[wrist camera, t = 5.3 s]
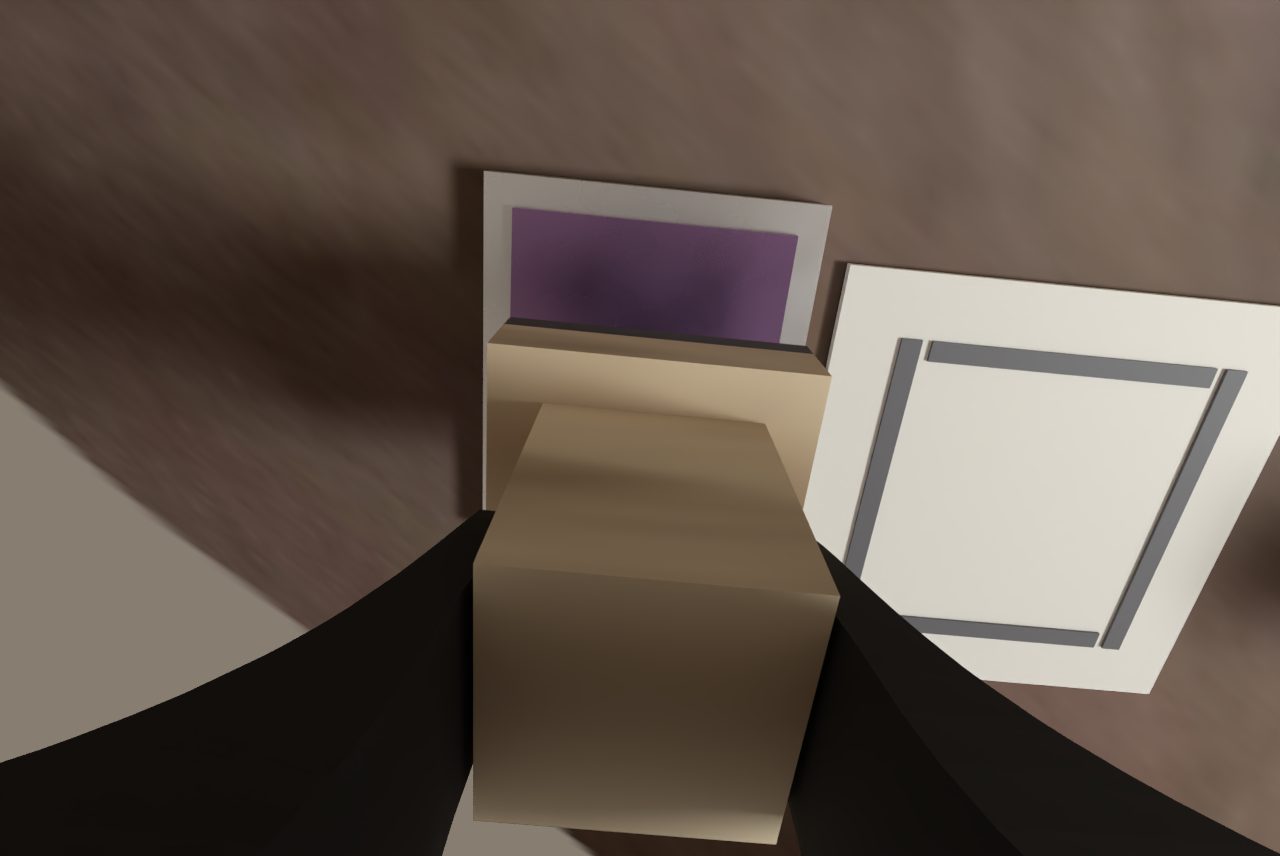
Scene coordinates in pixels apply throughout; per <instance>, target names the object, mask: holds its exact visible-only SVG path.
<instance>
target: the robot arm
mask: <svg viewBox="0 0 1280 856" xmlns="http://www.w3.org/2000/svg"><path fill="white" fill-rule="evenodd" d="M495 512H496V511H491V510H479V511H478V512H476V513H475V514H474V515H473V516H471V517H470V518H469V519H467V520H466V521H465V522H463V523H462V524H461V525H460V526H458V527H457V528H456V529H455V530H454V531H452V532H451V533H450V534H449V535H447V536H446V537H445V538H444V539H442V540H441V541H440V542H439V543H437V544H436V545H435V546H434V547H432V548H431V549H430V550H429V551H427V552H426V553H425V554H423V555H422V556H421V557H419V558H418V559H417V560H415V561H414V562H413V563H412V564H410V565H409V566H408V567H406V568H405V569H404V570H402V571H401V572H400V573H398V574H397V575H396V576H394V577H393V578H391V579H390V580H388V581H387V582H385V583H384V584H382V585H381V586H380V587H378V588H377V589H375V590H374V591H372V592H371V593H369V594H368V595H366V596H365V597H363V598H362V599H360V600H359V601H358V602H356V603H355V604H353V605H352V606H350V607H349V608H347V609H346V610H344V611H342V612H341V613H339V614H337V615H336V616H334V617H333V618H331V619H329V620H328V621H326V622H324V623H323V624H321V625H319V626H317V627H316V628H314V629H312V630H310V631H309V632H307V633H305V634H303V635H301V636H300V637H298V638H296V639H294V640H292V641H291V642H289V643H287V644H285V645H283V646H282V647H280V648H278V649H276V650H274V651H272V652H270V653H268V654H266V655H264V656H262V657H260V658H258V659H256V660H254V661H252V662H250V663H248V664H245V665H243V666H241V667H239V668H237V669H235V670H233V671H231V672H229V673H226V674H224V675H222V676H220V677H218V678H216V679H214V680H212V681H210V682H207V683H205V684H203V685H201V686H199V687H197V688H195V689H193V690H191V691H188V692H186V693H184V694H182V695H180V696H177V697H175V698H172V699H170V700H168V701H165V702H163V703H160V704H158V705H155V706H153V707H151V708H148V709H146V710H143V711H141V712H139V713H136V714H134V715H131V716H129V717H126V718H123V719H121V720H118V721H116V722H113V723H110V724H108V725H105V726H103V727H100V728H97V729H95V730H92V731H90V732H87V733H84V734H82V735H79V736H77V737H74V738H71V739H68V740H66V741H63V742H60V743H57V744H55V745H52V746H49V747H46V748H44V749H41V750H38V751H35V752H32V753H29V754H26V755H23V756H20V757H16V758H13V759H10V760H7V761H4V762H2V763H0V856H442V854H443V850H444V847H445V844H446V841H447V837H448V834H449V831H450V828H451V824H452V821H453V818H454V815H455V812H456V809H457V807H458V804H459V801H460V798H461V795H462V793H463V790H464V787H465V784H466V781H467V779H468V776H469V773H470V770H471V767H472V765H473V563H474V560H475V558H476V556H477V553H478V551H479V549H480V546H481V544H482V542H483V540H484V537H485V535H486V533H487V530H488V528H489V526H490V523H491V521H492V519H493V517H494V514H495ZM817 544H818V546H819V548H820V551H821V553H822V555H823V557H824V560H825V562H826V564H827V567H828V569H829V571H830V574H831V576H832V578H833V580H834V583H835V585H836V587H837V590H838V592H839V594H840V599H839V603H838V607H837V611H836V615H835V618H834V622H833V626H832V630H831V634H830V638H829V642H828V646H827V649H826V653H825V657H824V661H823V665H822V669H821V673H820V677H819V680H818V684H817V688H816V692H815V696H814V700H813V704H812V708H811V711H810V715H809V719H808V723H807V727H806V731H805V735H804V739H803V742H802V746H801V750H800V754H799V758H798V762H797V766H796V770H795V773H794V777H793V781H792V785H791V789H790V793H789V797H788V802H789V806H790V810H791V814H792V818H793V822H794V826H795V830H796V833H797V837H798V841H799V846H800V850H801V855H802V856H1280V853H1277V852H1275V851H1273V850H1271V849H1269V848H1267V847H1265V846H1263V845H1261V844H1259V843H1257V842H1255V841H1253V840H1251V839H1249V838H1247V837H1245V836H1243V835H1241V834H1239V833H1237V832H1235V831H1233V830H1231V829H1229V828H1227V827H1225V826H1223V825H1221V824H1220V823H1218V822H1216V821H1214V820H1212V819H1210V818H1208V817H1206V816H1204V815H1202V814H1200V813H1198V812H1196V811H1194V810H1192V809H1191V808H1189V807H1187V806H1185V805H1183V804H1181V803H1179V802H1177V801H1175V800H1173V799H1172V798H1170V797H1168V796H1166V795H1164V794H1162V793H1161V792H1159V791H1157V790H1155V789H1153V788H1152V787H1150V786H1148V785H1146V784H1144V783H1143V782H1141V781H1139V780H1137V779H1135V778H1134V777H1132V776H1130V775H1128V774H1126V773H1125V772H1123V771H1121V770H1120V769H1118V768H1116V767H1115V766H1113V765H1111V764H1110V763H1108V762H1106V761H1105V760H1103V759H1101V758H1100V757H1098V756H1096V755H1095V754H1093V753H1091V752H1090V751H1088V750H1086V749H1085V748H1083V747H1081V746H1079V745H1078V744H1076V743H1074V742H1073V741H1071V740H1069V739H1068V738H1066V737H1065V736H1063V735H1061V734H1060V733H1058V732H1057V731H1055V730H1054V729H1052V728H1050V727H1049V726H1047V725H1046V724H1044V723H1043V722H1041V721H1040V720H1038V719H1036V718H1035V717H1033V716H1032V715H1031V714H1029V713H1028V712H1026V711H1025V710H1023V709H1022V708H1020V707H1019V706H1017V705H1016V704H1015V703H1013V702H1012V701H1010V700H1009V699H1007V698H1006V697H1004V696H1003V695H1002V694H1000V693H999V692H997V691H996V690H994V689H993V688H991V687H990V686H988V685H987V684H986V683H984V682H983V681H982V680H980V679H979V678H978V677H976V676H975V675H973V674H972V673H971V672H969V671H968V670H967V669H965V668H964V667H963V666H962V665H960V664H959V663H958V662H956V661H955V660H954V659H953V658H951V657H950V656H949V655H948V654H946V653H945V652H944V651H943V650H941V649H940V648H939V647H938V646H936V645H935V644H934V643H933V642H931V641H930V640H929V639H928V638H926V637H925V636H924V635H923V634H922V633H920V632H919V631H918V630H917V629H916V628H914V627H913V626H912V625H911V624H910V623H909V622H907V621H906V620H905V619H904V618H903V617H902V616H900V615H899V614H898V613H897V612H896V611H895V610H894V609H892V608H891V607H890V606H889V605H888V604H887V603H886V602H885V601H883V600H882V599H881V598H880V597H879V596H878V595H877V594H876V593H875V592H873V591H872V590H871V589H870V588H869V587H868V586H867V585H866V584H865V583H864V582H863V581H861V580H860V579H859V578H858V577H857V576H856V575H855V574H854V573H853V572H852V571H851V570H850V569H848V568H847V567H846V566H845V565H844V564H843V563H842V562H841V561H840V560H839V559H838V558H836V557H835V556H834V555H833V554H832V553H831V552H830V551H829V550H827V549H826V548H825V547H824V546H823V545H822V544H820V543H819V542H818V541H817Z"/></svg>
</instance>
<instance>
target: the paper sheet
mask: <svg viewBox="0 0 1280 856" xmlns="http://www.w3.org/2000/svg"><path fill="white" fill-rule="evenodd" d="M825 369H826V370H827V371H828V372H829V373H830V375H831V376H832V379H831V383H830V388H829V393H828V397H827V402H826V406H825V411H824V416H823V420H822V425H821V429H820V434H819V438H818V443H817V448H816V452H815V457H814V461H813V466H812V470H811V475H810V480H809V484H808V489H807V493H806V498H805V502H804V507H803V511H804V514H805V516H806V518H807V521H808V523H809V525H810V528H811V530H812V532H813V534H814V537H815V539H816V541H818V542H819V543H820V544H822V545H823V546H824V547H825V548H826V549H827V550H829V551H830V552H831V553H832V554H833V555H834V556H835V557H836V558H838V559H839V560H840V561H841V562H842V563H843V564H844V565H845V566H846V567H847V568H848V569H850V570H851V571H852V572H853V573H854V574H855V575H856V576H857V577H858V578H859V579H860V580H861V581H863V582H864V583H865V584H866V585H867V586H868V587H869V588H870V589H871V590H872V591H873V592H875V593H876V594H877V595H878V596H879V597H880V598H881V599H882V600H883V601H885V602H886V603H887V604H888V605H889V606H890V607H891V608H892V609H894V610H895V611H896V612H897V613H898V614H899V615H900V616H902V617H903V618H904V619H905V620H906V621H907V622H909V623H910V624H911V625H912V626H913V627H914V628H916V629H917V630H918V631H919V632H920V633H922V634H923V635H924V636H925V637H926V638H928V639H929V640H930V641H931V642H933V643H934V644H935V645H936V646H938V647H939V648H940V649H941V650H943V651H944V652H945V653H946V654H948V655H949V656H950V657H951V658H953V659H954V660H955V661H956V662H958V663H959V664H960V665H962V666H963V667H964V668H965V669H967V670H968V671H969V672H971V673H972V674H973V675H975V676H976V677H978V678H979V679H980V680H990V681H1002V682H1013V683H1025V684H1037V685H1049V686H1061V687H1073V688H1085V689H1097V690H1108V691H1120V692H1132V693H1144V694H1149V693H1150V691H1151V689H1152V687H1153V685H1154V683H1155V681H1156V679H1157V677H1158V675H1159V673H1160V671H1161V669H1162V667H1163V665H1164V663H1165V661H1166V659H1167V657H1168V655H1169V653H1170V651H1171V649H1172V647H1173V645H1174V643H1175V641H1176V639H1177V637H1178V635H1179V633H1180V631H1181V629H1182V627H1183V625H1184V623H1185V621H1186V619H1187V617H1188V616H1189V614H1190V612H1191V610H1192V608H1193V606H1194V604H1195V602H1196V600H1197V598H1198V596H1199V594H1200V592H1201V590H1202V588H1203V586H1204V584H1205V582H1206V580H1207V578H1208V576H1209V574H1210V572H1211V570H1212V568H1213V566H1214V564H1215V562H1216V560H1217V558H1218V556H1219V554H1220V552H1221V550H1222V548H1223V546H1224V544H1225V542H1226V540H1227V538H1228V536H1229V534H1230V532H1231V530H1232V528H1233V526H1234V524H1235V522H1236V520H1237V518H1238V516H1239V514H1240V512H1241V510H1242V508H1243V506H1244V504H1245V502H1246V500H1247V498H1248V496H1249V494H1250V492H1251V490H1252V489H1253V487H1254V485H1255V483H1256V481H1257V479H1258V477H1259V475H1260V473H1261V471H1262V469H1263V467H1264V465H1265V463H1266V461H1267V459H1268V457H1269V455H1270V453H1271V451H1272V449H1273V447H1274V445H1275V443H1276V441H1277V439H1278V437H1279V435H1280V306H1279V305H1269V304H1258V303H1248V302H1238V301H1228V300H1218V299H1208V298H1198V297H1187V296H1177V295H1167V294H1157V293H1147V292H1137V291H1127V290H1116V289H1106V288H1096V287H1086V286H1076V285H1066V284H1055V283H1045V282H1035V281H1025V280H1015V279H1005V278H995V277H984V276H974V275H964V274H954V273H944V272H934V271H924V270H913V269H903V268H893V267H883V266H873V265H863V264H852V263H847V268H846V273H845V278H844V282H843V287H842V292H841V297H840V301H839V306H838V311H837V316H836V320H835V325H834V330H833V335H832V340H831V344H830V349H829V354H828V359H827V363H826V368H825Z"/></svg>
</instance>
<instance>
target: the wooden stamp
mask: <svg viewBox="0 0 1280 856" xmlns="http://www.w3.org/2000/svg"><path fill="white" fill-rule="evenodd" d="M831 379H832V376H831V375H830V373H829V372H828V371H827V370H826V369H825V367H824V366H823V365H822V364H821V363H820V361H819V360H818V359H817V358H816V357H815V355H814V354H813V353H812V352H811V351H810V349H809V348H808V347H807V346H803V345H792V344H782V343H772V342H762V341H752V340H741V339H731V338H721V337H711V336H701V335H690V334H680V333H670V332H660V331H650V330H639V329H629V328H619V327H609V326H598V325H588V324H578V323H568V322H558V321H547V320H537V319H527V318H517V317H510V318H509V319H508V320H507V321H506V322H505V323H504V324H503V325H502V327H501V328H500V329H499V330H498V331H497V332H496V333H495V335H494V336H493V337H492V338H491V339H490V340H489V341H488V343H487V435H486V510H491V511H496V512H495V514H494V517H493V519H492V521H491V523H490V526H489V528H488V530H487V533H486V535H485V537H484V540H483V542H482V544H481V546H480V549H479V551H478V553H477V556H476V558H475V560H474V563H473V797H474V798H473V806H474V807H473V820H474V821H485V822H498V823H510V824H523V825H536V826H548V827H561V828H573V829H586V830H599V831H611V832H624V833H636V834H649V835H662V836H674V837H687V838H699V839H712V840H725V841H737V842H750V843H762V844H775V845H776V843H777V839H778V835H779V831H780V828H781V824H782V820H783V816H784V812H785V808H786V804H787V800H788V797H789V793H790V789H791V785H792V781H793V777H794V773H795V770H796V766H797V762H798V758H799V754H800V750H801V746H802V742H803V739H804V735H805V731H806V727H807V723H808V719H809V715H810V711H811V708H812V704H813V700H814V696H815V692H816V688H817V684H818V680H819V677H820V673H821V669H822V665H823V661H824V657H825V653H826V649H827V646H828V642H829V638H830V634H831V630H832V626H833V622H834V618H835V615H836V611H837V607H838V603H839V599H840V594H839V592H838V590H837V587H836V585H835V583H834V580H833V578H832V576H831V574H830V571H829V569H828V567H827V564H826V562H825V560H824V557H823V555H822V553H821V551H820V548H819V546H818V544H817V541H816V539H815V537H814V534H813V532H812V530H811V528H810V525H809V523H808V521H807V518H806V516H805V514H804V511H803V507H804V502H805V498H806V493H807V489H808V484H809V480H810V475H811V470H812V466H813V461H814V457H815V452H816V448H817V443H818V438H819V434H820V429H821V425H822V420H823V416H824V411H825V406H826V402H827V397H828V393H829V388H830V383H831Z"/></svg>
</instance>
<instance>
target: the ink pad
mask: <svg viewBox="0 0 1280 856" xmlns="http://www.w3.org/2000/svg"><path fill="white" fill-rule="evenodd" d="M831 211H832V206H831V205H827V204H823V203H813V202H803V201H793V200H783V199H773V198H763V197H753V196H744V195H734V194H724V193H714V192H704V191H694V190H684V189H674V188H664V187H654V186H644V185H634V184H624V183H614V182H604V181H594V180H584V179H574V178H564V177H555V176H545V175H535V174H525V173H515V172H505V171H495V170H489V171H484V256H483V510H486V435H487V343H488V341H489V340H490V339H491V338H492V337H493V336H494V335H495V333H496V332H497V331H498V330H499V329H500V328H501V327H502V325H503V324H504V323H505V322H506V321H507V320H508V319H509V318H510V317H517V318H527V319H537V320H547V321H558V322H568V323H578V324H588V325H598V326H609V327H619V328H629V329H639V330H650V331H660V332H670V333H680V334H690V335H701V336H711V337H721V338H731V339H741V340H752V341H762V342H772V343H782V344H792V345H803V346H805V344H806V339H807V334H808V329H809V324H810V319H811V314H812V308H813V303H814V298H815V293H816V288H817V283H818V278H819V273H820V267H821V262H822V257H823V252H824V247H825V242H826V237H827V231H828V226H829V221H830V216H831Z"/></svg>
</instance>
